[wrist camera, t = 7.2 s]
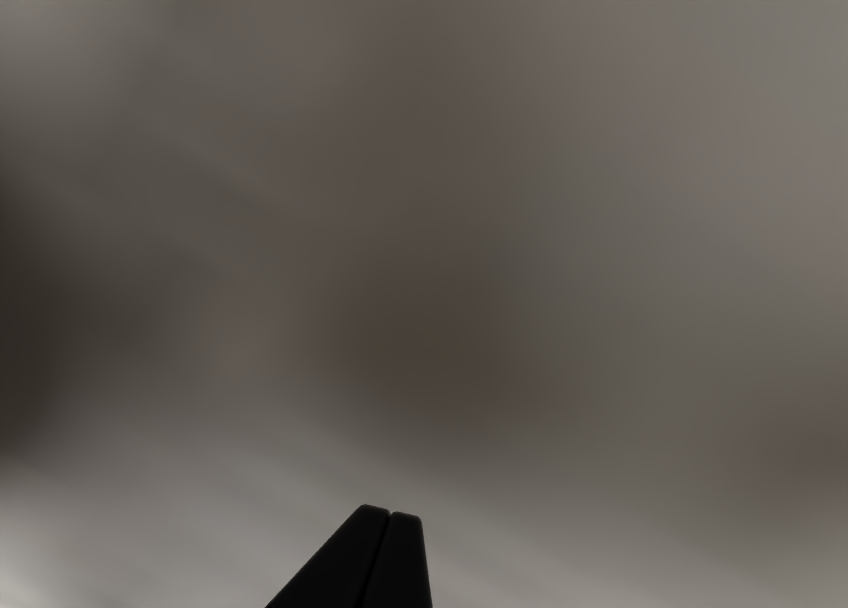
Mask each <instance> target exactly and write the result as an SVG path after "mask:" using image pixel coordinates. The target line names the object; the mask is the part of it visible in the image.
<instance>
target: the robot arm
mask: <svg viewBox="0 0 848 608" xmlns="http://www.w3.org/2000/svg"><path fill="white" fill-rule="evenodd" d="M265 608H433V607H432V599H431V591H430V583H429V575H428V568H427V560H426V552H425V544H424V536H423V529H422V522H421V519H420V518H419V517H418V516H415V515H410V514H406V513H402V512H393V513H392V514H390V511H389V510H387V509H384V508H380V507H376V506H371V505H367V504H364V505H361V506H360V507H358V508H357V509H356V510H355V511H354V512H353V513H352V515H351V516H350V517H349V518H348V519H347V520H346V521H345V522H344V523H343V524H342V525H341V526H340V527H339V528H338V530H337V531H336V532H335V533H334V534H333V535H332V536H331V537H330V538H329V539H328V540H327V541H326V542H325V543H324V545H323V546H322V547H321V548H320V549H319V550H318V551H317V552H316V553H315V554H314V555H313V556H312V557H311V558H310V560H309V561H308V562H307V563H306V564H305V565H304V566H303V567H302V568H301V569H300V570H299V571H298V572H297V573H296V575H295V576H294V577H293V578H292V579H291V580H290V581H289V582H288V583H287V584H286V585H285V586H284V587H283V588H282V590H281V591H280V592H279V593H278V594H277V595H276V596H275V597H274V598H273V599H272V600H271V601H270V602H269V603H268V605H267V606H266V607H265Z"/></svg>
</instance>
